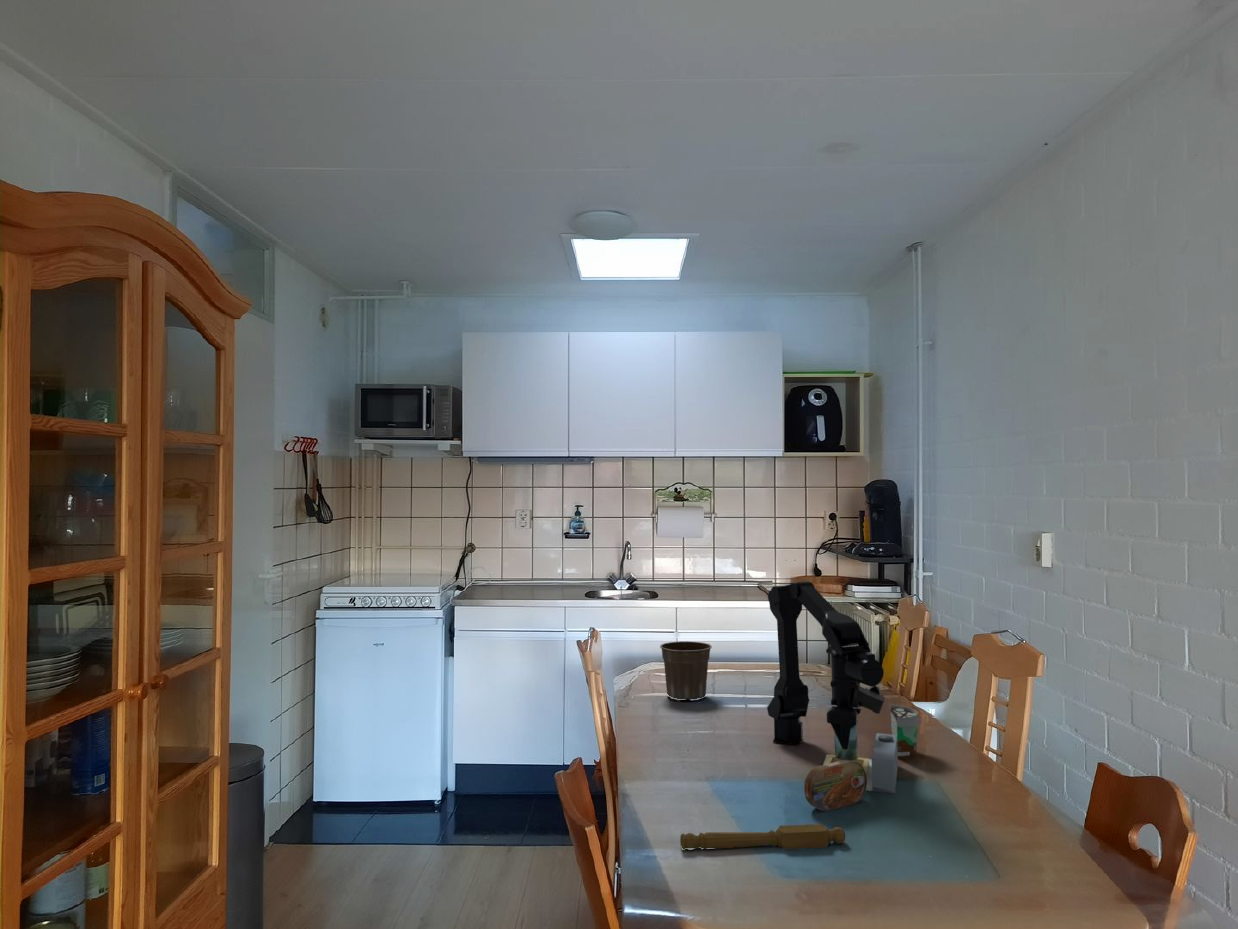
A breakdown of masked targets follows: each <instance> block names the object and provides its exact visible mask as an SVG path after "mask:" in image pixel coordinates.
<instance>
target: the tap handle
mask: <svg viewBox="0 0 1238 929" xmlns="http://www.w3.org/2000/svg"><path fill="white" fill-rule="evenodd" d="M679 838H680V843H679V844H680V847H681V846H682V848H683V849H685V848H696V847H701V848H727V849H735V848H734V847H740V848H749V847H750V846H751V847H761V846H771V847H772V846H773V847H776V846H778V847H780V848H781V849H783V850H786V849H787V850H788V849H789V850H790V849H812V848H814V849H815V848H816V849H817V848H827V847H828V845H829V844H830V843H831V842H833V843H835V845H842V844H843V843H844V842H845V840H846V832H845V830H844V829H843V828H841V827H839V826H835V827H833V828H832V829H831V830H830V829H828V828H827V827H826V826H824V825H823V824H821V823H819V824H818V823H813V824H792V825H791V824H790V825H779V826H778V828H777V829H776V831H775V830H773V829H770V830H769V831H765V832H764V831H761V832H755V831H754V832H752V831H751V832H750V831H747V832H746V831H744V832H742V831H741V832H740V831H738V832H735V831H734V832H732V831H731V832H729V831H728V832H723V831H722V832H721V831H718V832H714V831H713V832H708V831H707V832H704V833H703V832H699V834H698V835H695V834H694V833H692V832H689V833H686V834H685V833H681V834H680V836H679ZM751 847H750V848H751ZM773 847H772V848H773ZM696 849H697V848H696Z"/></svg>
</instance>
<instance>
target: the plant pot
mask: <svg viewBox="0 0 1238 929" xmlns="http://www.w3.org/2000/svg"><path fill="white" fill-rule="evenodd" d="M659 647H660V649H661V653H662V654H661V656H662V657H661V658H662V660H663V665H664V678H665V684H666V685H665V686H666V695H667V694H668V695H669V696H671V697H673V698H677V699H697V698H702V697H704V696H705V695H706V696H707V685H708V684H707V682H708V667H709V666H708V665H709V660H710V655H711V654H710V653H711V649H712V645H711V644H710V643H706V642H700V641H688V640H687V641H685V640H684V641H681V640H680V641H670V642H664V643H662V644H660V645H659Z"/></svg>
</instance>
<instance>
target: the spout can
mask: <svg viewBox="0 0 1238 929" xmlns="http://www.w3.org/2000/svg"><path fill="white" fill-rule="evenodd" d="M833 731H834V730H833ZM833 734H834V755H835V757H836V758H838V759H841V760H849V761H852V760H856V759H858V758H859V748H858V745H859V744H858V723H857V724H856V725H854V726H853V727H852V728H851V731H850V738H849V744H848V749H847V750H846V749H842V747H841V745H840V742H839V740H838V738H837V736H836V733H835V731H834V733H833Z"/></svg>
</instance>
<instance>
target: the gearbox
mask: <svg viewBox="0 0 1238 929" xmlns="http://www.w3.org/2000/svg"><path fill="white" fill-rule="evenodd" d="M873 744H874V745H873V747H872V748H873V749H872V755H871V758H865V757H858V759H856V760H852V762H857V763H859V764H860V765H861V766H862V767H863V768H864V770H865V773H866V777H867V786H866V790H865V791H869V792H875V793H877V792H878V793H882V794H883V793H885V794H892V795H895V794H896V788H897V787H896V786H897V777H898V776H897V775H898V766H899V764H898V760H899V759H897V735H891V733H890V734H889V733H888V734H887V733H880V732H879V733H878V732H877V733H876V735H875V739H874V743H873ZM837 761H841V759H838V758H836V757H835V754H826V756H825V759H824V761H823V764H822V765H825V764H829V763H833V762H837Z"/></svg>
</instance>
